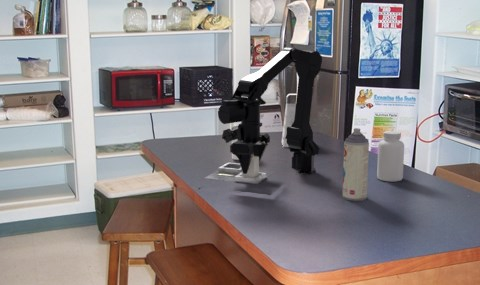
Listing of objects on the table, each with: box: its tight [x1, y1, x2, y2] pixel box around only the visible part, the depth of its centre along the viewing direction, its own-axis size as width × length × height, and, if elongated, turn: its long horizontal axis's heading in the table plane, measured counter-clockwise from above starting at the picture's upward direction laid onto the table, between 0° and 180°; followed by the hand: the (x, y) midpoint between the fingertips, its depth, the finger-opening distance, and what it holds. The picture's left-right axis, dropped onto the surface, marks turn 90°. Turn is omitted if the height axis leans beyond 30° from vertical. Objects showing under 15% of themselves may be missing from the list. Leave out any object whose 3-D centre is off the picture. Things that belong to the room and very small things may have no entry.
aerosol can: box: [342, 127, 370, 202], centre depth 176 cm, size 7×7×20 cm
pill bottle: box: [376, 130, 405, 183], centre depth 196 cm, size 8×8×15 cm
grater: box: [281, 93, 297, 148], centre depth 246 cm, size 10×10×20 cm
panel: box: [204, 162, 277, 185], centre depth 198 cm, size 18×16×3 cm
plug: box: [242, 155, 260, 178], centre depth 192 cm, size 4×4×8 cm
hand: (250, 170), depth 192 cm, fingers open, 9 cm apart
